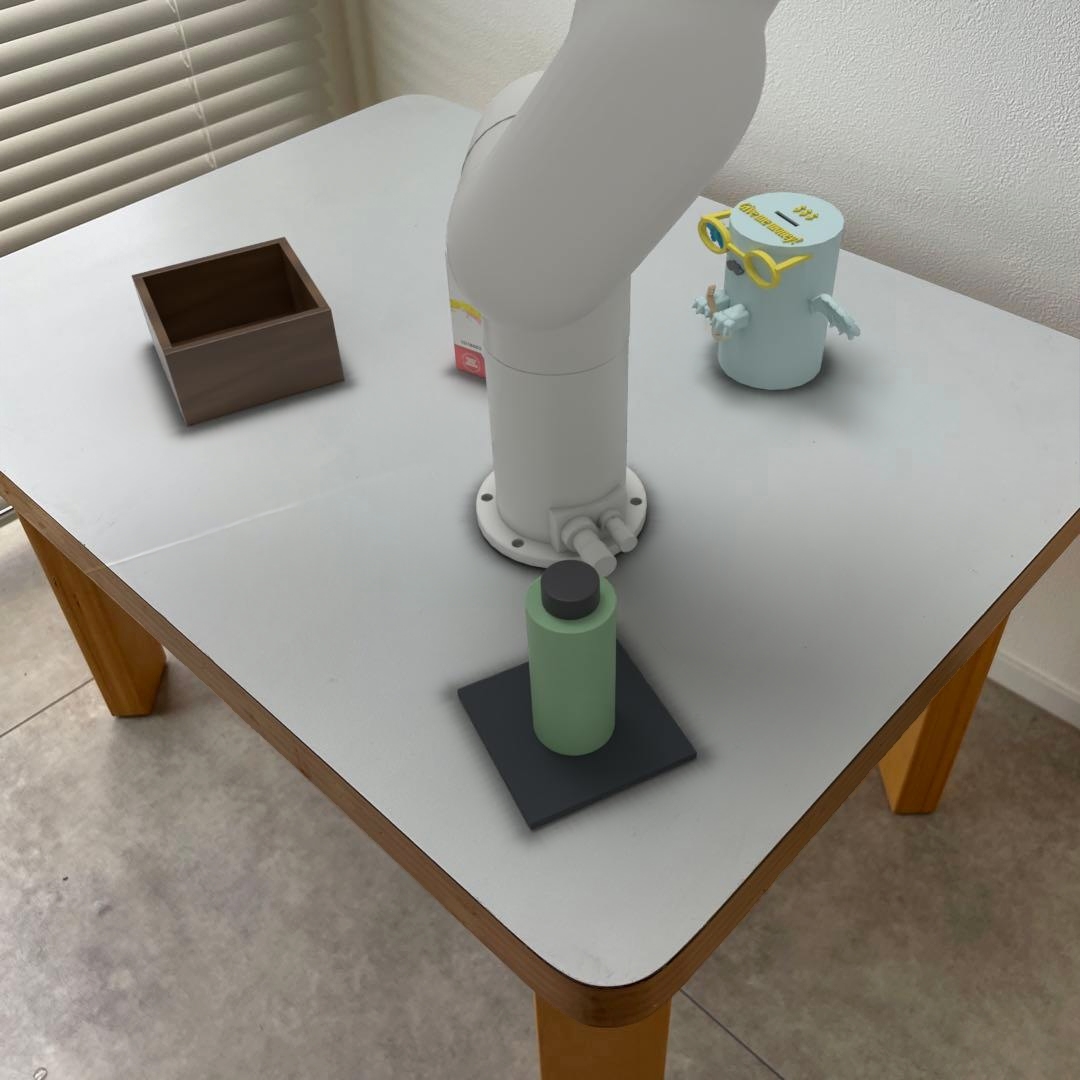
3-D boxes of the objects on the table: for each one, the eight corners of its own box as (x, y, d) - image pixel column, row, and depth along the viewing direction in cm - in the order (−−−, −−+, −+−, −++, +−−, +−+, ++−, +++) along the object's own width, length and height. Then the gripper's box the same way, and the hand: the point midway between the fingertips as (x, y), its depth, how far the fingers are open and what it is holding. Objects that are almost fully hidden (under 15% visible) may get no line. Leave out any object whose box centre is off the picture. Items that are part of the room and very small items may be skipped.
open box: (345, 383, 97) (331, 309, 92) (188, 430, 93) (164, 355, 88) (299, 308, 106) (284, 236, 101) (154, 347, 102) (131, 274, 97)
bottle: (629, 736, 69) (633, 594, 60) (555, 768, 67) (548, 626, 59) (591, 679, 72) (590, 536, 63) (520, 708, 70) (508, 565, 62)
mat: (696, 757, 68) (697, 752, 68) (530, 830, 65) (530, 824, 64) (610, 635, 75) (610, 629, 75) (457, 694, 72) (456, 689, 72)
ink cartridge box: (453, 372, 98) (436, 215, 88) (485, 344, 101) (472, 188, 91) (537, 402, 94) (529, 241, 84) (568, 371, 97) (564, 213, 87)
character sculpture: (636, 329, 102) (640, 188, 92) (741, 292, 105) (755, 153, 96) (774, 449, 89) (794, 300, 79) (888, 403, 92) (920, 255, 83)
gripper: (-351, -382, 45) (-154, 54, 57) (89, -416, 50) (186, -8, 62) (-335, -394, 50) (-157, 9, 62) (64, -424, 55) (158, -45, 67)
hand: (14, 0), depth 62 cm, fingers open, 9 cm apart
